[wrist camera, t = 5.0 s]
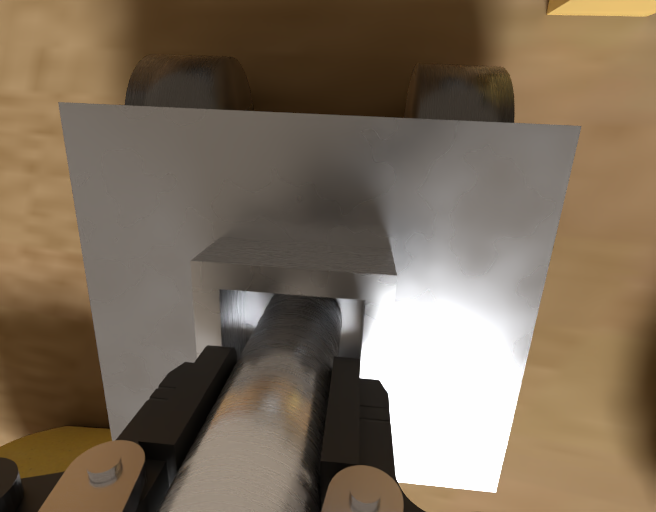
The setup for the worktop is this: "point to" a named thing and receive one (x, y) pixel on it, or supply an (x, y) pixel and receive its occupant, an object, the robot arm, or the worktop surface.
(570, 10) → the pale yellow block
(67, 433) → the flower pot
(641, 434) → the worktop surface
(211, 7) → the worktop surface
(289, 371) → the pin
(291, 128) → the dolly
